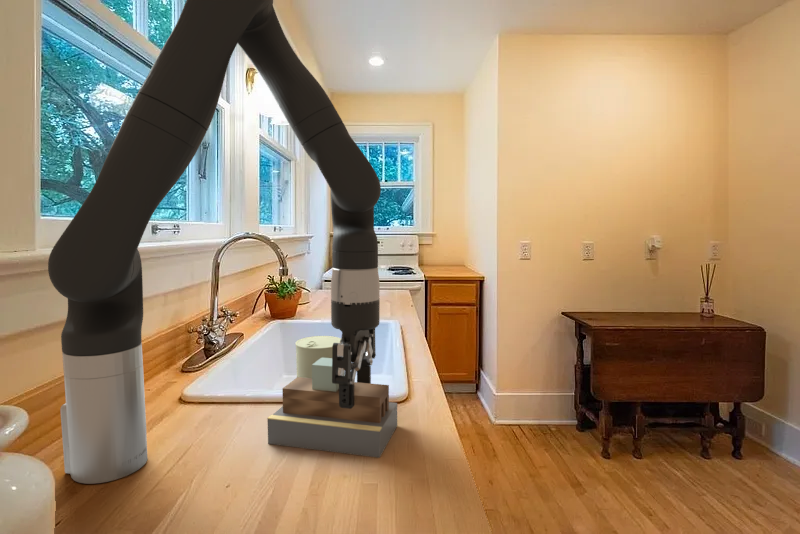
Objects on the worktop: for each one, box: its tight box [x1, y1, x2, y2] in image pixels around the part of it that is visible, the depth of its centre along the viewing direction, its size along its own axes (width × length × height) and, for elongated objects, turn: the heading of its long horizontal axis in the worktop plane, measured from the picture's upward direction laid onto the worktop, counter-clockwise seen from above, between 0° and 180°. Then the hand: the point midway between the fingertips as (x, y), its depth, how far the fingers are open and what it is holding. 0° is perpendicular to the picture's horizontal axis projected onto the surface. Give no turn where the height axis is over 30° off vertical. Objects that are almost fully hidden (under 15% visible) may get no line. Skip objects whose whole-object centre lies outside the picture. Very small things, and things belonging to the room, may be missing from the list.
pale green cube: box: [312, 358, 345, 392], centre depth 76 cm, size 4×4×4 cm
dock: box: [266, 401, 398, 458], centre depth 77 cm, size 18×11×4 cm, turn 77°
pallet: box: [281, 376, 390, 423], centre depth 76 cm, size 16×6×4 cm, turn 77°
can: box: [294, 335, 341, 378], centre depth 91 cm, size 9×9×12 cm
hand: (355, 397), depth 75 cm, fingers open, 8 cm apart
